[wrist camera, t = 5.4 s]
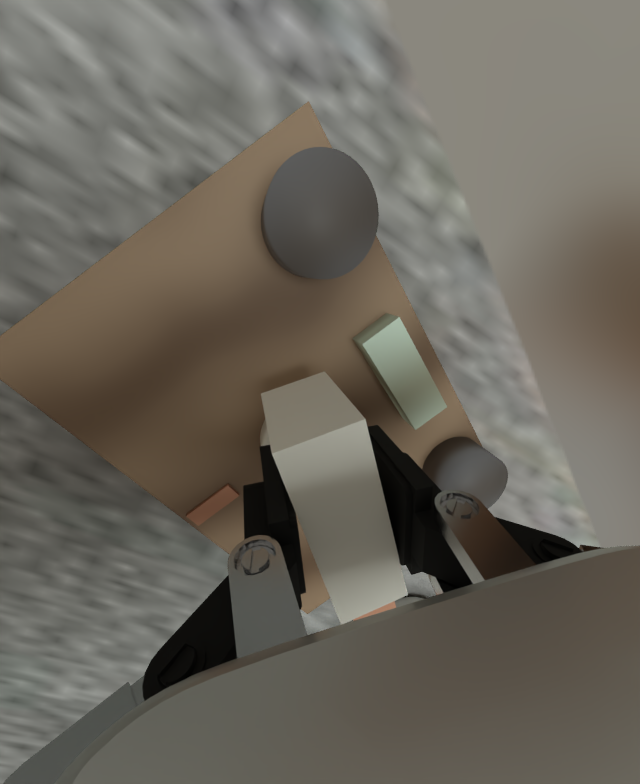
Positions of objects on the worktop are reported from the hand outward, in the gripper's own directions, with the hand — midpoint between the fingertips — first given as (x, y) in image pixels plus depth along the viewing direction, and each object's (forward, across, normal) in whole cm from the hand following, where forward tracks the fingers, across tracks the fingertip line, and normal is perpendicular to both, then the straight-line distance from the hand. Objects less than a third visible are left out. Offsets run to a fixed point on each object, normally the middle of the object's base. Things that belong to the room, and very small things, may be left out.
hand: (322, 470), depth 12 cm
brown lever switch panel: (+5, 0, 0) cm, 5 cm away
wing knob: (+3, 0, 0) cm, 3 cm away
